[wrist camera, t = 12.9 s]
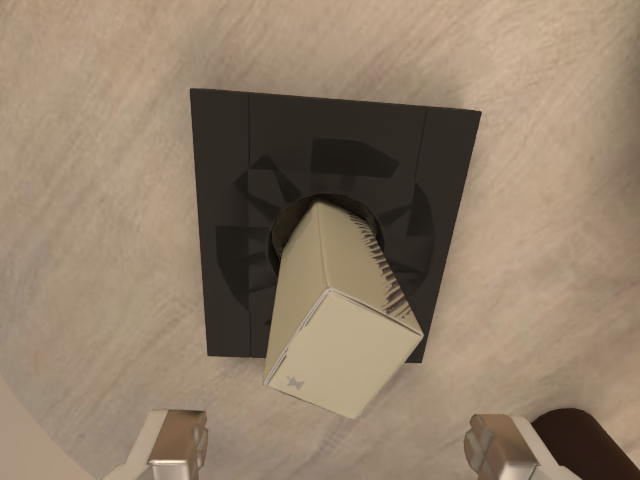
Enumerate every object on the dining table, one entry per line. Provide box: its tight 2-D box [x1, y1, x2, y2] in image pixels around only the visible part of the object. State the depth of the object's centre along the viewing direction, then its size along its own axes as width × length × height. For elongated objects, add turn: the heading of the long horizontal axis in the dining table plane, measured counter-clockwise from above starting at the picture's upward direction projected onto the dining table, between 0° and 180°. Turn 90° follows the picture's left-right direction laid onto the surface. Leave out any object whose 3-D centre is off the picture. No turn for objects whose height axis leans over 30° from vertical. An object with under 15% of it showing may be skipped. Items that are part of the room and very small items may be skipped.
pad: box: [190, 88, 482, 363], centre depth 24 cm, size 16×18×2 cm
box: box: [263, 195, 424, 420], centre depth 19 cm, size 5×4×13 cm
